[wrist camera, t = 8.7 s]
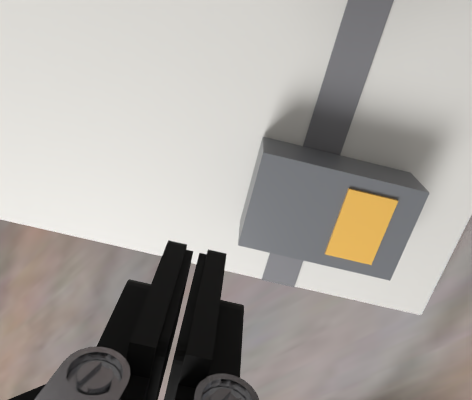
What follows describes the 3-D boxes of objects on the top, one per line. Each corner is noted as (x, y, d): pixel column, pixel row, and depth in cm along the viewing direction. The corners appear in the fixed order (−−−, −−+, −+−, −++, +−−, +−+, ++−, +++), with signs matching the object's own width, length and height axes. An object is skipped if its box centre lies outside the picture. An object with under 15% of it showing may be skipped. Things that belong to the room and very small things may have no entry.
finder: (262, 136, 23) (263, 153, 20) (410, 172, 23) (430, 193, 20) (239, 221, 25) (237, 246, 22) (376, 253, 25) (390, 282, 22)
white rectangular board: (20, -202, 19) (0, -219, 18) (581, -47, 20) (606, -52, 19) (7, 207, 27) (-7, 218, 26) (413, 300, 28) (421, 316, 27)
